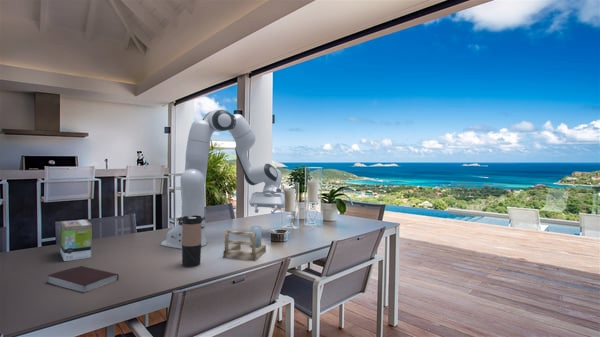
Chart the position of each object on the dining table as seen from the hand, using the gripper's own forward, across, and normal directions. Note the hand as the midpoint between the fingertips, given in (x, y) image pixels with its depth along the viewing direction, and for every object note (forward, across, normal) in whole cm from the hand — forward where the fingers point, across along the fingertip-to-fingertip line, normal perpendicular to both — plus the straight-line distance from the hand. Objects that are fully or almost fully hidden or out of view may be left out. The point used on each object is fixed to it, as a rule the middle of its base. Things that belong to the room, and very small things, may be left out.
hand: (264, 212), depth 178 cm
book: (+63, -42, -41) cm, 86 cm away
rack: (+30, 0, -8) cm, 30 cm away
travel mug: (+44, -16, -22) cm, 51 cm away
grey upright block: (+20, 0, +2) cm, 20 cm away
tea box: (+47, -70, -25) cm, 88 cm away
